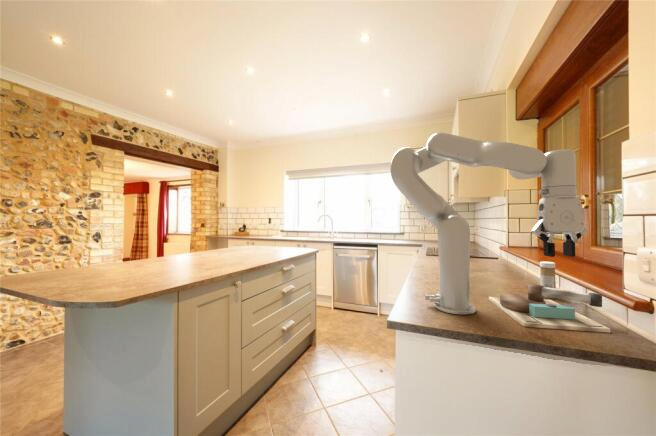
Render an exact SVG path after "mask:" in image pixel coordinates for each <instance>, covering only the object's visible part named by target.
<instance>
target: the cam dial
mask: <svg viewBox="0 0 656 436" xmlns="http://www.w3.org/2000/svg"><path fill="white" fill-rule="evenodd" d="M544 296H548V297H554V298H555V299H560V300H567V301H569V302H570V301H571V302H575V303H576V302H577V303H583V304H587V305H589V306H590V307H596V308H602V307H603V294H600V293H595V292H589V293H587V292H586V293H585V292H579V291H578V292H577V291H573V290H572V291H571V290H566V289H561V288H556V289H555V288H548V287H544V286H542V285H541V284H536V283H528V284H527V295H524V294H516V293H504V294H500V296H499V297H500V304H501V305H503V306H504V307H507V308H510V309H513V310H518V311H523V312H529V303H530V304H546V302H545V301H544V299H545V298H544Z"/></svg>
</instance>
